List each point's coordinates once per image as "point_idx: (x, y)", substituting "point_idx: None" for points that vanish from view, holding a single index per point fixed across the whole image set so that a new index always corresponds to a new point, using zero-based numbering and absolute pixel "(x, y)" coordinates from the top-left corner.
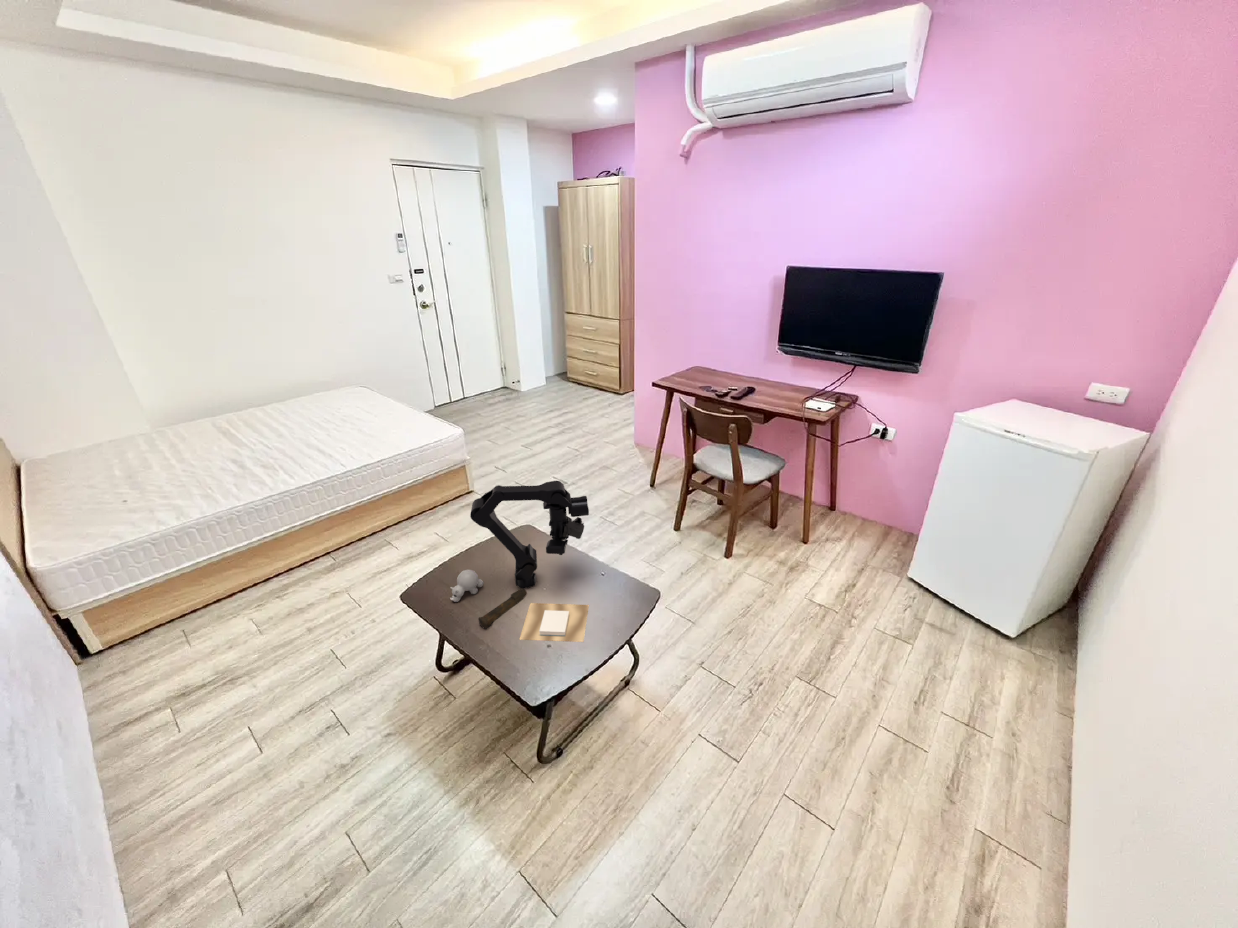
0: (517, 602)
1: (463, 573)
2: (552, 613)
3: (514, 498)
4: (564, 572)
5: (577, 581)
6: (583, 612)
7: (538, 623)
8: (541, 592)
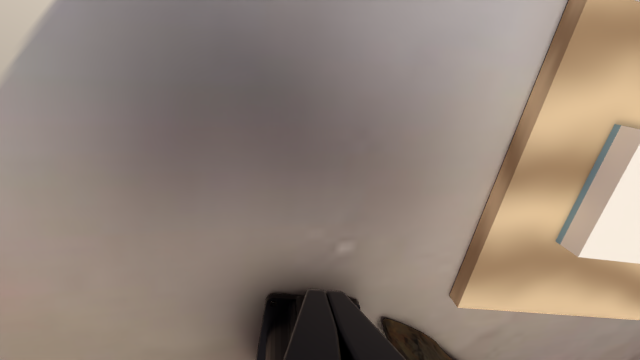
0: (444, 357)
1: None
2: (616, 219)
3: None
4: (205, 143)
5: (309, 55)
6: (634, 35)
7: (595, 264)
8: (370, 260)
